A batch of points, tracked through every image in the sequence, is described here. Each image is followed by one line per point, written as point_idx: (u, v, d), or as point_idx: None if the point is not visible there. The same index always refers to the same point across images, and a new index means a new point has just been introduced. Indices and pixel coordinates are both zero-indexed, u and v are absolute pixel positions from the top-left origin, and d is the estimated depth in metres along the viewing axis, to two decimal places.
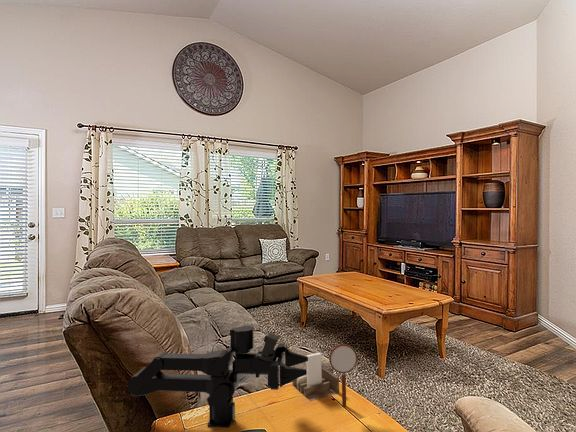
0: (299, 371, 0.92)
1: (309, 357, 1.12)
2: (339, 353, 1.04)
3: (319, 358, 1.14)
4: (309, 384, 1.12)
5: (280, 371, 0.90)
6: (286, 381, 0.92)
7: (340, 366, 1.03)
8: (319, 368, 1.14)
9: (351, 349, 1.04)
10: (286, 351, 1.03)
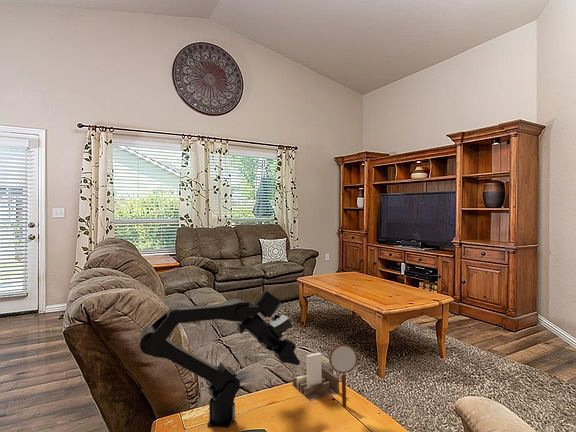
0: (297, 359, 1.05)
1: (309, 357, 1.12)
2: (339, 353, 1.04)
3: (319, 358, 1.14)
4: (309, 384, 1.12)
5: None
6: (286, 360, 1.02)
7: (340, 366, 1.03)
8: (319, 368, 1.14)
9: (351, 349, 1.04)
10: None
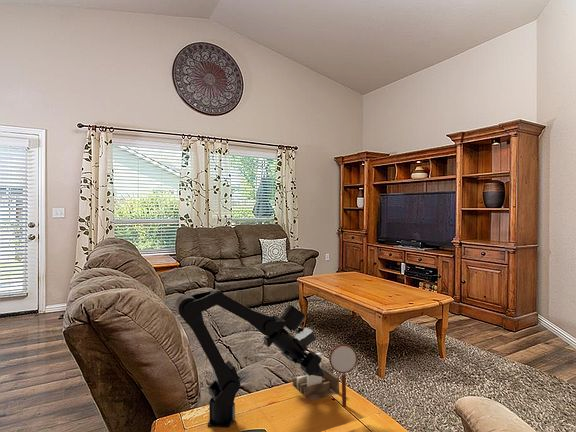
0: (321, 371, 1.09)
1: None
2: (339, 353, 1.04)
3: None
4: (309, 384, 1.12)
5: None
6: None
7: (340, 366, 1.03)
8: None
9: (351, 349, 1.04)
10: None
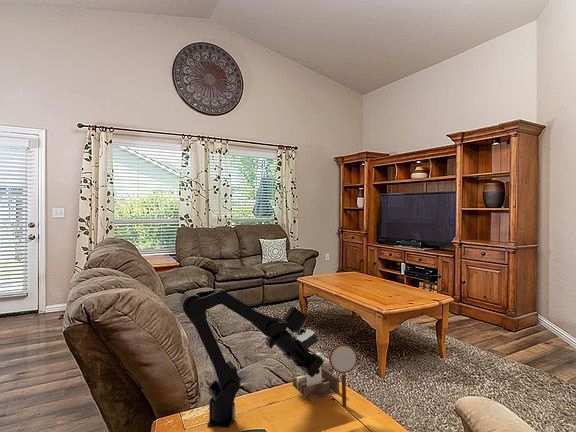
0: None
1: None
2: (339, 353, 1.04)
3: None
4: (309, 384, 1.12)
5: None
6: None
7: (340, 366, 1.03)
8: (319, 368, 1.14)
9: (351, 349, 1.04)
10: None
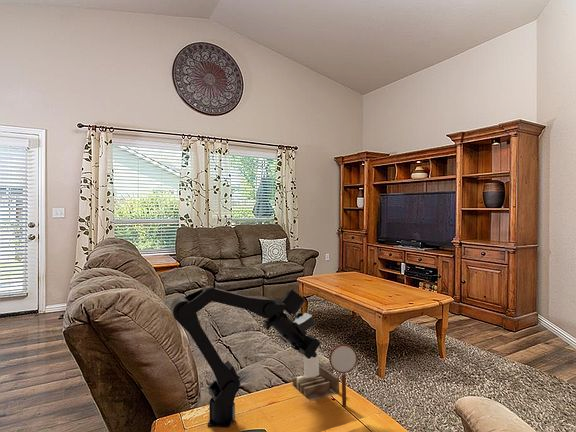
0: (314, 352, 1.12)
1: None
2: (339, 353, 1.04)
3: None
4: (306, 369, 1.12)
5: None
6: None
7: (340, 366, 1.03)
8: (316, 353, 1.14)
9: (351, 349, 1.04)
10: None
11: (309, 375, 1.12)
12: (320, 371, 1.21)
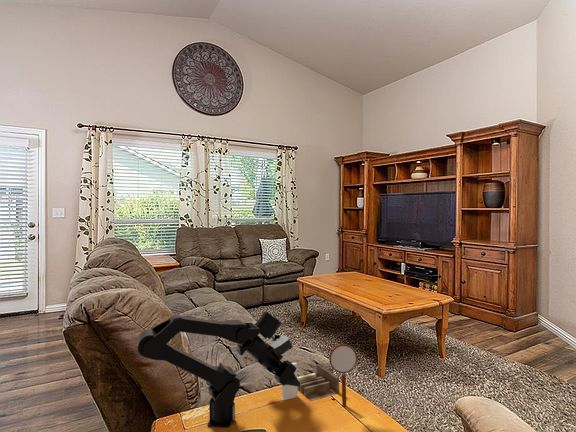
0: (297, 381, 1.05)
1: None
2: (339, 353, 1.04)
3: None
4: (284, 395, 1.08)
5: None
6: (286, 382, 1.02)
7: (340, 366, 1.03)
8: None
9: (351, 349, 1.04)
10: None
11: None
12: (320, 371, 1.21)
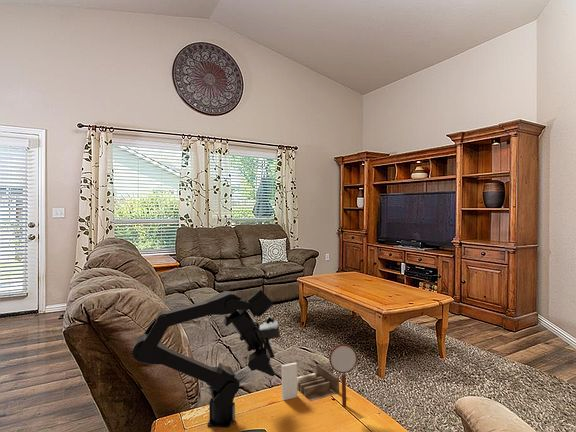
0: (271, 371, 1.00)
1: (284, 367, 1.08)
2: (339, 353, 1.04)
3: (295, 368, 1.10)
4: (284, 395, 1.08)
5: (265, 362, 0.97)
6: (258, 368, 0.99)
7: (340, 366, 1.03)
8: (295, 378, 1.10)
9: (351, 349, 1.04)
10: None
11: None
12: (320, 371, 1.21)
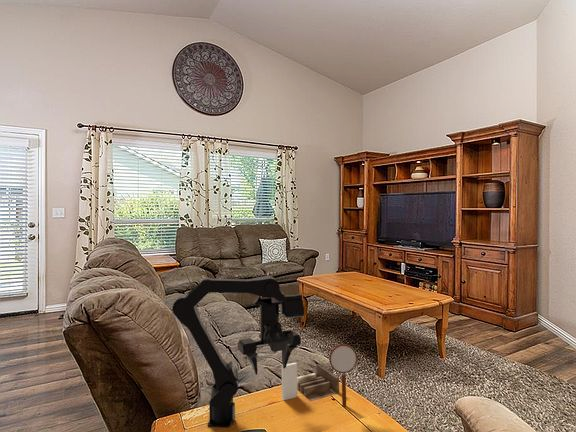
0: (254, 368, 1.00)
1: None
2: (339, 353, 1.04)
3: (295, 368, 1.10)
4: (284, 395, 1.08)
5: (246, 354, 0.98)
6: None
7: (340, 366, 1.03)
8: (295, 378, 1.10)
9: (351, 349, 1.04)
10: (288, 348, 1.03)
11: None
12: (320, 371, 1.21)
